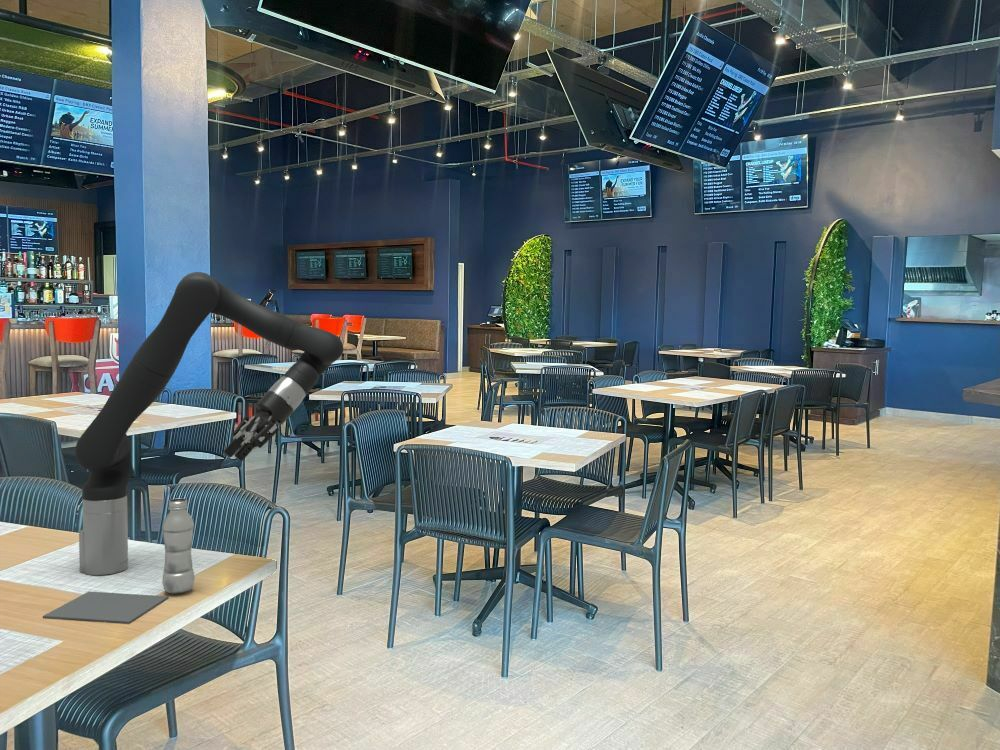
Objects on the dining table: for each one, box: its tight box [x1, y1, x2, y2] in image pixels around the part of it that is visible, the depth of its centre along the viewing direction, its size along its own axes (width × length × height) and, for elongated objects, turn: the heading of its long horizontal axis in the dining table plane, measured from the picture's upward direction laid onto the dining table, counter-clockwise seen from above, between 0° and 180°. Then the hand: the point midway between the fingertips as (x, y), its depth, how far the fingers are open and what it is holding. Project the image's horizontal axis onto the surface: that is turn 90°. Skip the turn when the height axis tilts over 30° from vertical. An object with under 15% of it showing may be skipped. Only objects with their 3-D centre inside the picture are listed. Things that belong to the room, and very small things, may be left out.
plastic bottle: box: [161, 497, 195, 595], centre depth 166 cm, size 6×7×20 cm
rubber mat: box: [42, 591, 169, 625], centre depth 156 cm, size 18×14×1 cm
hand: (232, 456), depth 173 cm, fingers open, 5 cm apart
